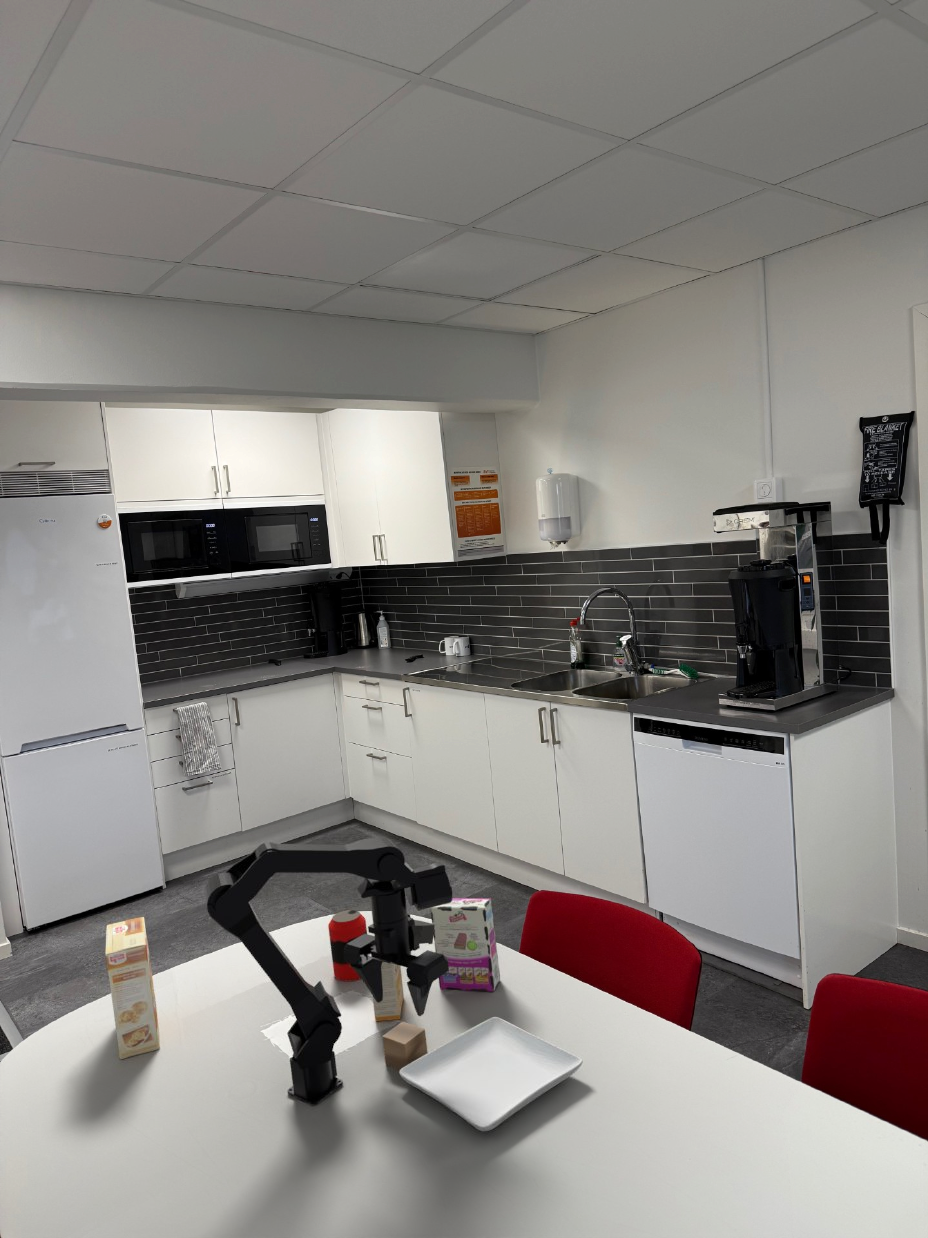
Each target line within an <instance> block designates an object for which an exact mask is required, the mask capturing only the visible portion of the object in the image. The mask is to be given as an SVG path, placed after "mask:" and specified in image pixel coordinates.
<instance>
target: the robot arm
mask: <svg viewBox="0 0 928 1238" xmlns="http://www.w3.org/2000/svg"><path fill="white" fill-rule="evenodd" d="M279 873H284V874H286V873H288V874H289V873H292V874H296V873H300V874H306V873H307V874H309V873H310V874H313V873H314V874H317V873H318V874H319V873H321V874H322V873H323V874H325V873H326V874H334V873H335V874H337V873H338V874H340V873H341V874H350V875H355V876H358V877H361V878H364V879H363V881H362V883H360V885H359V886H357V888H356V892H357V893H358V894H359V896H360V897H361V898H362V899H367V898H369V899H370V909H371V917H372V923H371V924H370V925H369V926H367V932H368V933H367V934H363V935H361V936H360V937H358V938H356V939H354V940H353V941H351V942H349V943H347V944H346V946H345V949H344V951H343V952H344V961H345V962H347V963H350V967H351V968H353V969H354V970H355V971H356V973H357V974H358V975H359V977H360V978H361V979H360V980H361V981H362V983H363V984H364V985H365V986H366V988H367V990H368V991H369V993H370V994H371V996H372V998H373V997H374V999H375V1000H376V1002H378V1003H379V1002H381V1001H382V1000H383V985H382V972H381V966H382V963H383V962H386V963H389V964H396V965H400V966H401V967H404V968H406V969H405V971H406V976H407V979H408V981H407V982H406V986H407V987H408V991H409V995H410V998H411V1000H412V1004H413V1007H414V1010H415V1013H416V1014H417V1016H418V1017H422V1016H423V1015H424V1014H425V1011H426V1006H427V1003H428V999H429V995H430V991H431V988H432V984H433V982H435V981H436V980H439V977H440V976H442V975H443V974H445V973H446V972H448V971H449V967H448V959H447V957H446V956H444V955H443V954H440V953H436V952H435V951H432V950H429V949H428V950H425V951H423V952H422V953H420V955H418V956H417V955H413V954H412V952H413V951H414V952H415V951H417V950H420V945H421V944H422V945H424V944H428V945H432V944H434V928H435V924H432V922H431V923H430V922H427V921H422V920H419V919H414V917H411V914H410V913H408V909H407V908H408V907H407V902H408V905H409V906H410V907H411V906H414V907H415V909H416V911H419V912H420V911H422V910H427V909H430V908H431V907H435V906H439V905H443V904H447V903H451V901H452V898H453V888H452V886H451V883H450V879H449V876H448V874H447V872H446V866H445V864H443V863H442V862H441V861H437V862H434V863H431V864H429V865H424V866H420V867H417V868H412V867H411V866H410V864H409V863H408V862H406V861H405V856H404V853H403V852H402V850H401V849H400V848H399V847H398V846H397V845H396V844H394V842H393V841H392V840H391V839H389V838H388V837H385V836H376V837H371V838H369V837H368V838H365V839H364V838H363V839H359V840H357V841H354V842H351V843H346V844H322V843H321V844H319V843H318V844H317V843H316V844H315V843H314V844H313V843H310V844H309V843H308V844H307V843H305V844H304V843H274V842H271V841H268V842H264V843H261V844H259V846H257V847H256V848H255V849H254V850H253V851H252V852H251V853H249V854H247V855H245V856H244V857H243V858H241V859H239V860H238V861H236V862H235V863H234V864H232V865H231V866H230V867H229V868H228V869H227V870H226V871H224V872H220V873H217V874H215V875H213V876H212V877H211V878H210V879H209V880H208V881H207V882H206V885H205V887H204V900H205V904H206V910H207V912H208V913H207V914H208V915H209V917H210V918H211V919H212V920H214V922H215V923H217V924H218V926H220V927H221V928H223V929H224V931H226V932H227V933H229V934H230V935H232V936H234V937H236V938H237V939H239V941H240V942H241V943H242V944H243V945H244V947H245V948H246V950H248V952H249V953H250V955H251V957H253V959H254V960H255V961H256V962H257V964H258V965H259V967H260V968H261V970H263V971H264V973H265V975H267V977H268V978H269V979H270V980H271V982H272V984H273V985H274V986H275V988H276V989H277V990H278V991H279V993H280V994H281V996H282V997H283V998H284V999H285V1000H286V1002H287V1003H288V1005H289V1006H290V1008H291V1010H292V1012H293V1014H294V1017H295V1019H296V1020H295V1021H294V1023H293V1024H292V1025H291V1027H290V1029H289V1030H287V1031H288V1032H287V1038H288V1040H289V1043H290V1046H291V1049H292V1053H293V1054H292V1057H290V1058H289V1065H290V1072H291V1073H290V1074H291V1080H292V1081H291V1082H292V1086H291V1087H290V1088H288V1089H287V1094H288V1095H290V1097H294V1098H296V1099H298V1100H301V1101H302V1102H305V1103H306V1104H309V1105H311V1106H316V1105H317V1104H318V1103H320V1102H322V1100H324V1099H326V1098H327V1097H328V1096H329V1095H330V1094H332V1093H333V1092H335V1091H336V1090H337V1089H338V1088H340V1087H341V1086H343V1084H344V1081H343V1079H340V1078H339V1077H337V1076H338V1071H337V1062H336V1053H335V1051H334V1046H335V1044H336V1043H337V1041H338V1040H339V1039H340V1037H341V1034H342V1030H343V1025H342V1022H341V1020H340V1018H341V1017H342V1014H341V1010H340V1009H339V1007H338V1004H337V1002H336V1000H335V999H334V996H332V995H331V994H329V993H328V992H327V991H326V990H325V987H324V985H323V982H322V981H321V980H319V981H318V982H317V983H316V984H315V985H312V984H311V983H309V982H308V981H306V979H304V977H303V976H302V975H301V974H300V972H299V970H298V969H297V968H296V967H295V966H294V964H293V963H292V961H291V960H290V958H289V957H288V956H287V955H286V953H285V952H284V951H283V949H282V948H281V947H280V945H279V944H278V942H277V941H276V940H275V939H274V937H273V936H272V935H271V934H270V932H269V931H268V929H267V928H266V927H265V926H264V924H263V923H262V922H261V920H260V919H259V917H258V916H257V914H256V912H255V910H254V907H253V904H252V903H251V901H252V899H254V898H255V897H256V895H258V893H260V891H261V890H262V889H263V887H264V886H265V884H266V883H267V882H268V881H269V880H270V879H271V878H272V877H273V876H274V875H275V874H279ZM406 899H407V900H406ZM371 934H372V935H371ZM373 934H374V936H373Z"/></svg>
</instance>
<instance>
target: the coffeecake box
mask: <svg viewBox="0 0 928 1238" xmlns="http://www.w3.org/2000/svg"><path fill="white" fill-rule="evenodd" d="M145 923H146V920H145V917H144V916H139V917H135V918H131V919H126V920H123V921H118V922H114V923H109V924H107V925H106V930H105V932H106V933H105V958H106V965H107V973H108V981H109V988H110V995H111V1001H112V1011H113V1016H114V1017H113V1018H114V1024H115V1025H114V1026H115V1030H116V1031H115V1032H116V1038H117V1040H116V1041H117V1045H118V1056H119V1060H123V1059H127V1058H131V1057H134V1056H138V1055H141V1054H145V1053H149V1052H153V1051H156V1050H157V1051H158V1050H159V1049H161V1045H160V1044H161V1043H160V1041H161V1040H160V1032H159V1030H160V1029H159V1022H158V1011H157V1009H158V1008H157V1003H156V1002H157V1001H156V994H155V989H154V988H155V986H154V980H153V971H152V967H151V966H152V965H151V957H150V949H149V942H148V937H147V930H146V924H145Z"/></svg>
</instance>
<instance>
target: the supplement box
mask: <svg viewBox="0 0 928 1238" xmlns="http://www.w3.org/2000/svg"><path fill="white" fill-rule="evenodd" d="M372 936H374V934H373V933H372ZM401 967H402V966H400V965H396V964H389V963H386V962H383V963H382V966H381V972H382V985H383V1000H382V1001H381V1002H379V1003H378V1002H376V1000H375V999H374V997H373V996H372V1003H373V1012H374V1021H375V1022H382V1021H393V1020H400V1019H401V1014H402V1006H403V1001H404V986H403V985H404V984H403V977H402V968H401Z"/></svg>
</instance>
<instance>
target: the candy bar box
mask: <svg viewBox="0 0 928 1238" xmlns="http://www.w3.org/2000/svg"><path fill="white" fill-rule="evenodd" d="M492 905H493V904H492V898H491V897H490V898H476V897H475V898H473V897H472V898H469V897H468V898H467V897H466V898H462V897H461V898H460V897H459V898H458V897H457V898H456V897H455V898H454V897H452V901H451V903H447V904H443V905H439V906H435V907H431V908H429V909H430V915H431V916H430V918H431V923H432V924H435V928H434V936H433V944H434V950H435V951H434V952H436V953H440V954H443V955H444V956H446V957H447V959H448V967H449V971H448V972H446V973H445V974H443V975H442V976H440V977H439V978H438V985H439V989H440V990H445V991H446V990H447V991H448V990H449V991H450V990H451V991H469V992H470V991H472V992H475V991H476V992H495V991H496V989H497V987H498V985H499V983H500V981H501V974H500V965H499V957H498V948H497V940H496V932H495V922H494V921H495V920H494V912H493V906H492Z"/></svg>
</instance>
